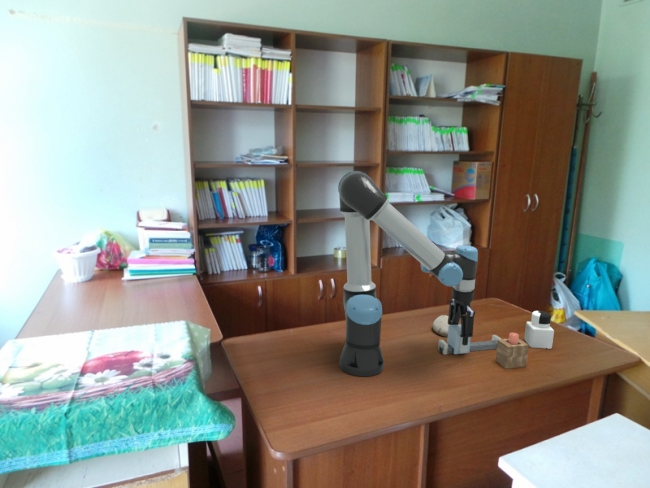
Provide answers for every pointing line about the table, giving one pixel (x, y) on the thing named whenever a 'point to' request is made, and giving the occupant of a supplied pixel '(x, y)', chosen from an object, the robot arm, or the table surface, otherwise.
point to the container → (539, 330)
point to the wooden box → (511, 354)
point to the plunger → (513, 338)
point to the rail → (474, 346)
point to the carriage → (456, 338)
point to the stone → (441, 325)
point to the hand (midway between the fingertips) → (457, 348)
